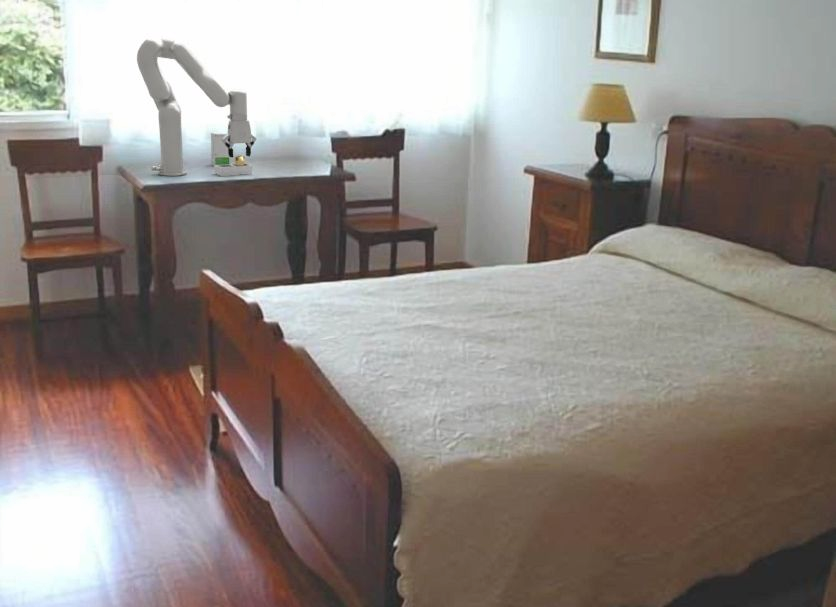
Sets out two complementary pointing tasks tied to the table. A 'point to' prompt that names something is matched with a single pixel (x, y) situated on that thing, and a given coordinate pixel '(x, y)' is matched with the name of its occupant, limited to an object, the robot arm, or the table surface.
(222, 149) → the skincare box
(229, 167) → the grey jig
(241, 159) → the brass bushing
